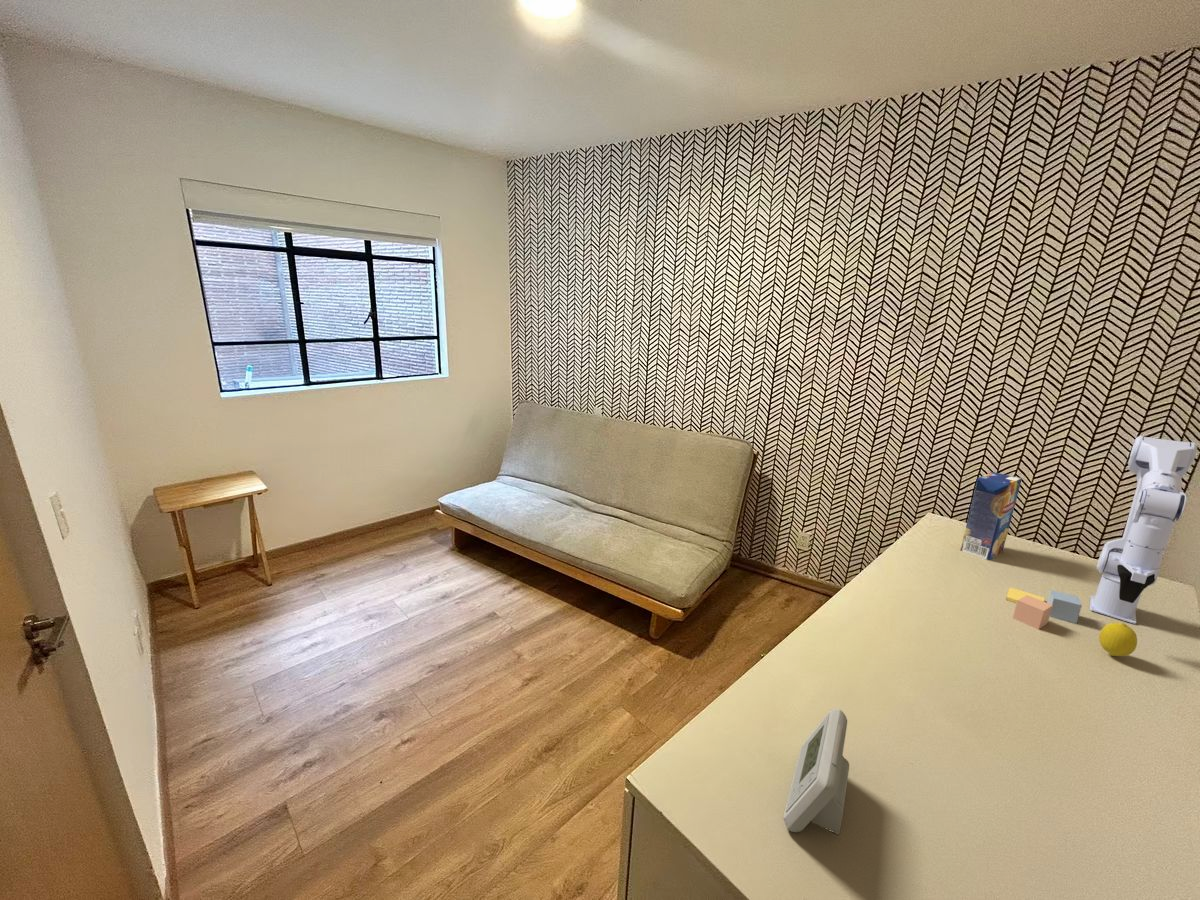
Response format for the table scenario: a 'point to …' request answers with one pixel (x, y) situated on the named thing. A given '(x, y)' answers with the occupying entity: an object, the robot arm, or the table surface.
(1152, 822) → the table surface
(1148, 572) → the robot arm
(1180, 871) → the table surface
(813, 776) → the digital clock
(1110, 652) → the lemon
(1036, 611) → the terracotta block
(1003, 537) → the juice carton
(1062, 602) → the slate block
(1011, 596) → the tile
